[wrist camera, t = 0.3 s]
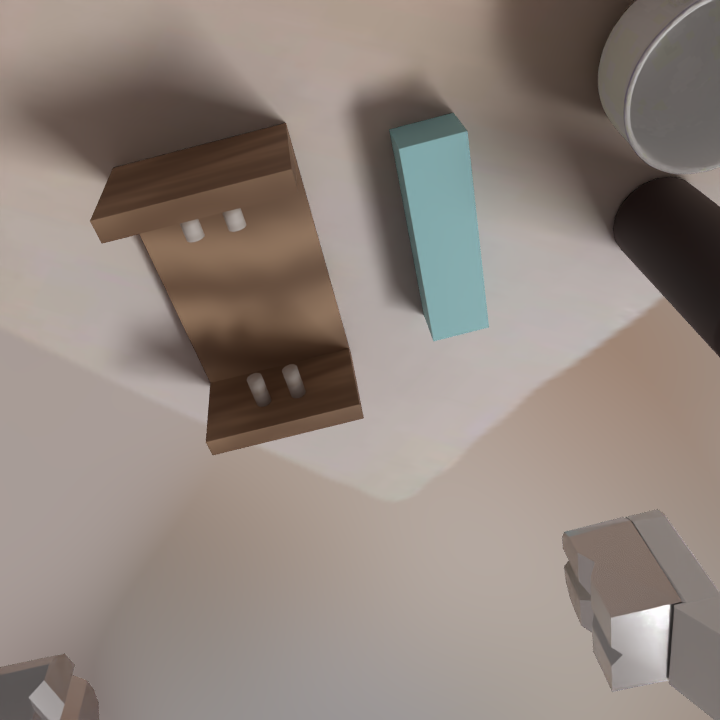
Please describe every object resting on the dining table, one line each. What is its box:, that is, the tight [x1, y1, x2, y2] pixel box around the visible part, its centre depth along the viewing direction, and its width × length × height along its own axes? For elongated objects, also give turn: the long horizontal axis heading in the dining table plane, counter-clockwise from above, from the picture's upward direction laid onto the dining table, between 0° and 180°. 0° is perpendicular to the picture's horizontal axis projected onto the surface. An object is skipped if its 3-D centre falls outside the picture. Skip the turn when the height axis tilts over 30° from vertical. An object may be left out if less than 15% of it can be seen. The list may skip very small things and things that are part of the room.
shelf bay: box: [90, 123, 364, 455], centre depth 47 cm, size 20×12×8 cm, turn 12°
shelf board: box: [390, 113, 489, 341], centre depth 48 cm, size 16×4×4 cm, turn 12°
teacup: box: [598, 0, 720, 174], centre depth 40 cm, size 14×11×8 cm
